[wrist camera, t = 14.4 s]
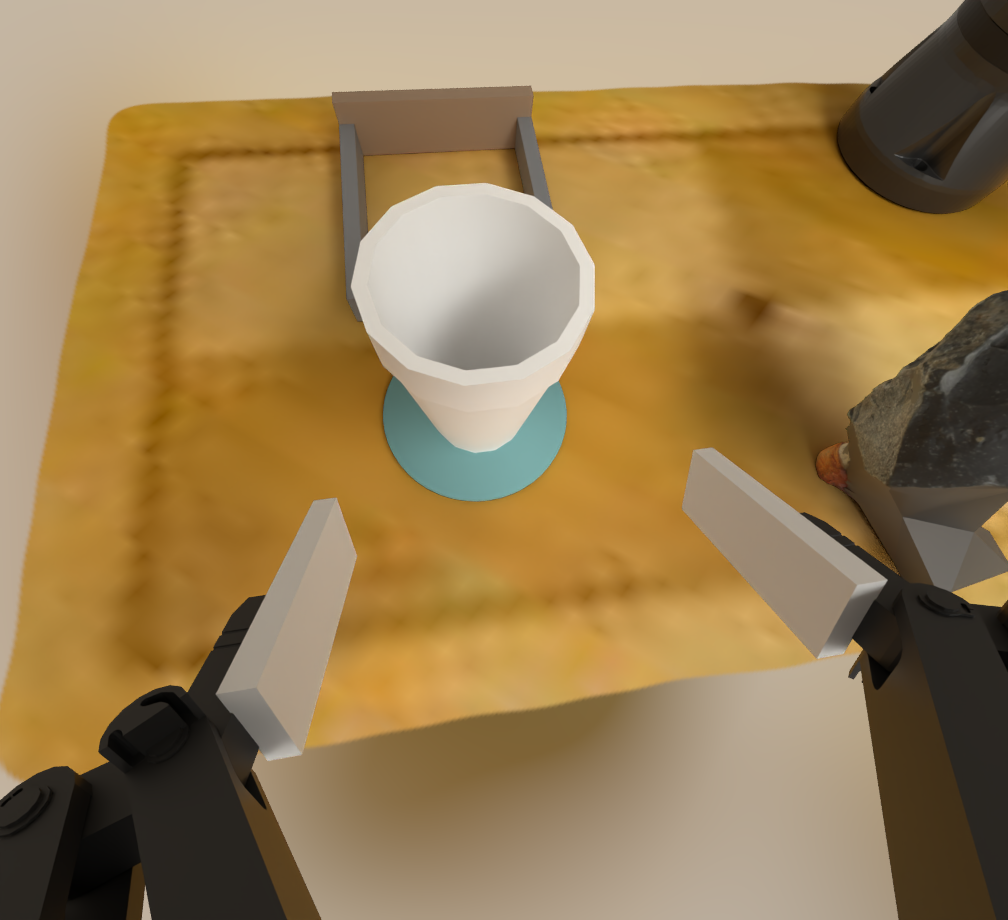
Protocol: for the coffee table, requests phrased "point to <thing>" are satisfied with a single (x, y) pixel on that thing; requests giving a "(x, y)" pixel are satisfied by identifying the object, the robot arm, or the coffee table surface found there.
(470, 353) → the foam cup
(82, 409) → the coffee table surface
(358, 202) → the cup lane
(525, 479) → the teal mat
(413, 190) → the coffee table surface
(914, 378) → the grey rock
